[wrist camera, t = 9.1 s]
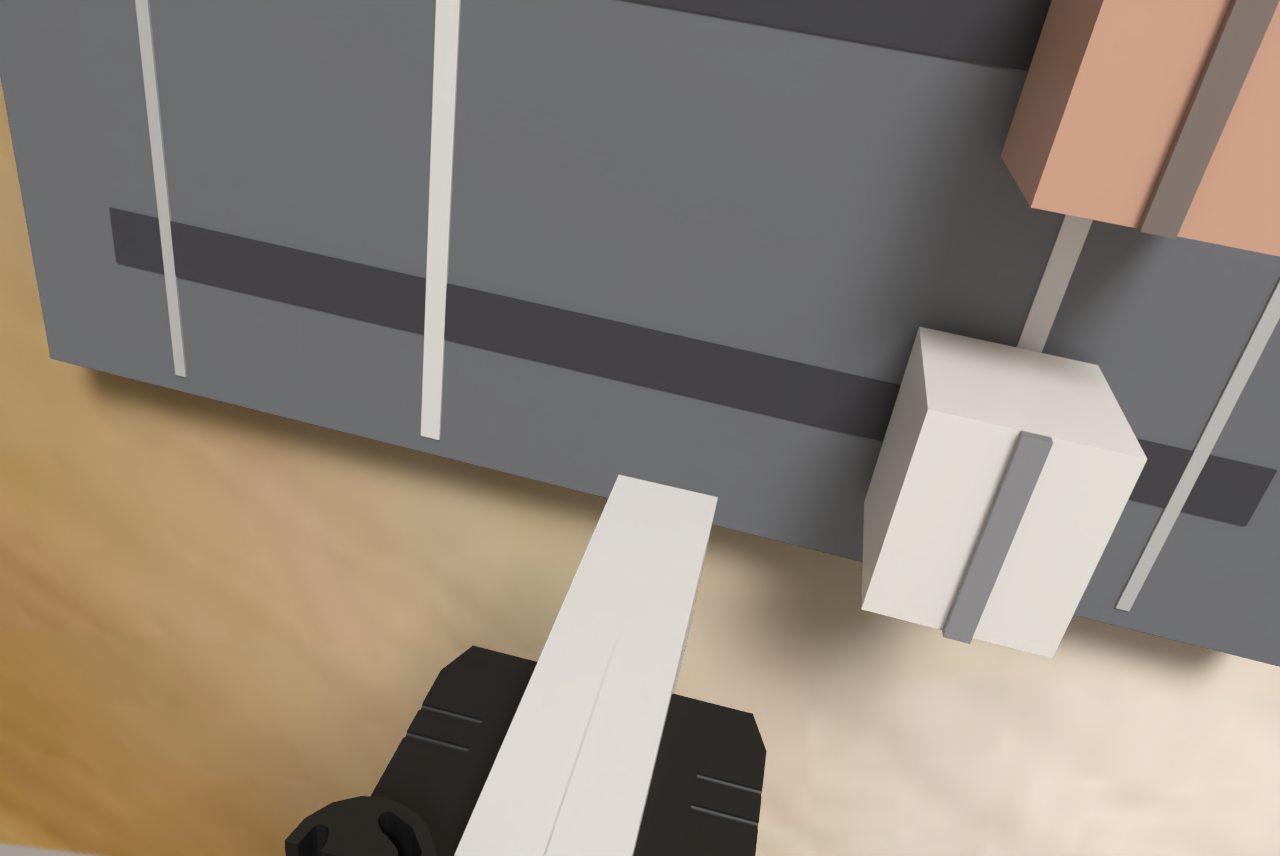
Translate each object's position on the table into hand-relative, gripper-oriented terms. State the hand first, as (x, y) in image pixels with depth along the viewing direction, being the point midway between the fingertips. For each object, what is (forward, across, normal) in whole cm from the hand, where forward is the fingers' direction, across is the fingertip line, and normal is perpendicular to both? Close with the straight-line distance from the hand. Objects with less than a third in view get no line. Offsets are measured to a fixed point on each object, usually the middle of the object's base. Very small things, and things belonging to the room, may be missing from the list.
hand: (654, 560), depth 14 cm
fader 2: (+7, +6, 0) cm, 9 cm away
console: (+10, -2, +4) cm, 11 cm away
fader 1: (+7, +6, +8) cm, 12 cm away
